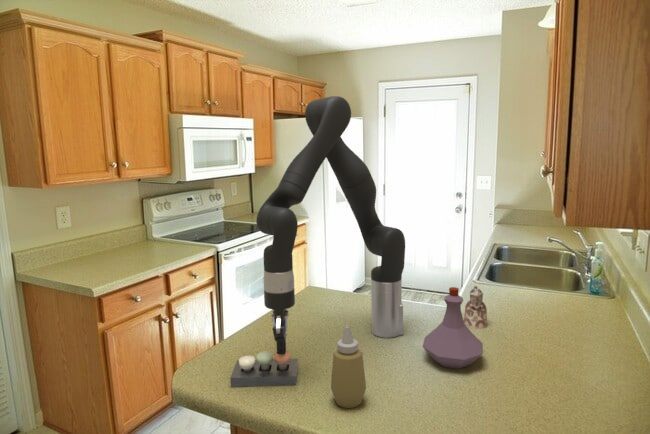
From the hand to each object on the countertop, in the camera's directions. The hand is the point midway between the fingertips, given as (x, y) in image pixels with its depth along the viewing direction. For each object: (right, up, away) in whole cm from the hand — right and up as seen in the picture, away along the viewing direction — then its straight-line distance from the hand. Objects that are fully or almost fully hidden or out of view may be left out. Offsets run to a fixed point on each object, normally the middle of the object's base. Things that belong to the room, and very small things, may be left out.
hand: (281, 352), depth 113 cm
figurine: (+59, 0, +30) cm, 66 cm away
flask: (+45, -4, +7) cm, 46 cm away
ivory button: (-9, -6, +1) cm, 10 cm away
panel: (-4, -6, +1) cm, 8 cm away
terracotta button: (0, -4, +1) cm, 4 cm away
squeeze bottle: (+16, -8, -11) cm, 21 cm away
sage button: (-4, -4, +1) cm, 6 cm away
